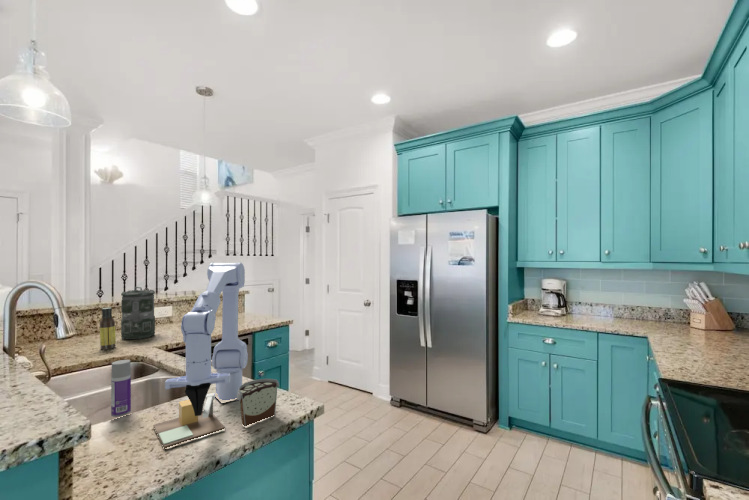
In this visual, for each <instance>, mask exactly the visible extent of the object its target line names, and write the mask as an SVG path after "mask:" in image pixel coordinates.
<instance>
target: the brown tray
mask: <svg viewBox="0 0 749 500" xmlns="http://www.w3.org/2000/svg"><path fill="white" fill-rule="evenodd" d="M186 425H187V426H188V428H189V429H190V431H191V432H192V433H193V436H191V437H187V438H184V439H181V440H178V441H175V442H172V443H168V444H165V445H164V444H163V442H162V440H161V438H160V436H159V433H162V432H165V431H168V430H172V429H175V428H179V427H182V426H185V425H181V423H180V421H179V417H176V418H173V419H170V420H169V419H168V420H167V421H162V422H159V423H155V424H153V429H154V428H155V430H156V432H157V434H158V437H159V439H160V441H161V443H162V445H163V447H164V449H165V448H167V447H170V446H173V445H176V444H179V443H181V442H184V441H187V440H191V439H194V438H198V437H201V436H204V435H207V434H210V433H213V432H216V431H219V430H222V429H224V428H225V429H226V426H225V425H224V424H223V423H222V422H221V421H220V420H219V419H218V418H217V416H216V415H215V414H214V400H212V403H211V407H210V411H209V415H208V417H207V418H203V412H202V414H201V415H200V416H198V421H197V422H193V423H190V424H186ZM158 437H157V438H158ZM159 439H158V440H159ZM160 441H159V442H160ZM161 443H160V444H161ZM162 445H161V446H162ZM163 447H162V448H163ZM164 449H163V450H164Z"/></svg>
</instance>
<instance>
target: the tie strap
mask: <svg viewBox="0 0 749 500" xmlns="http://www.w3.org/2000/svg"><path fill="white" fill-rule="evenodd" d="M215 393H216V392H212V393H211V392H210V393H207V395H206V398H205V401H206V402H205V403H204V407H203V418H207V417H208V415H209V411H210V407H211V403H212V400H213V401H214V400H215Z"/></svg>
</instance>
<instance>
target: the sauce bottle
mask: <svg viewBox="0 0 749 500" xmlns="http://www.w3.org/2000/svg"><path fill="white" fill-rule="evenodd" d="M112 311H113V308H112V307H103V308H101V314H102V315H101V319H100V321H99V345H100V349H101V350H111V349H115V347H116V346H117V345H116V341H117V339H116V337H117V336H116V322H115V319H114V317H113V313H112Z"/></svg>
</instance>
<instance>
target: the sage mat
mask: <svg viewBox="0 0 749 500" xmlns="http://www.w3.org/2000/svg"><path fill="white" fill-rule="evenodd" d="M159 436H160V438H161V440H162V442H163V444H164V445H165V444H168V443H172V442H175V441H178V440H181V439H184V438H187V437H191V436H193V433H192V432H191V431H190V429H189V428H188V426H187V425H185V426H182V427H179V428H175V429H172V430H168V431H165V432H162V433H159Z"/></svg>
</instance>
